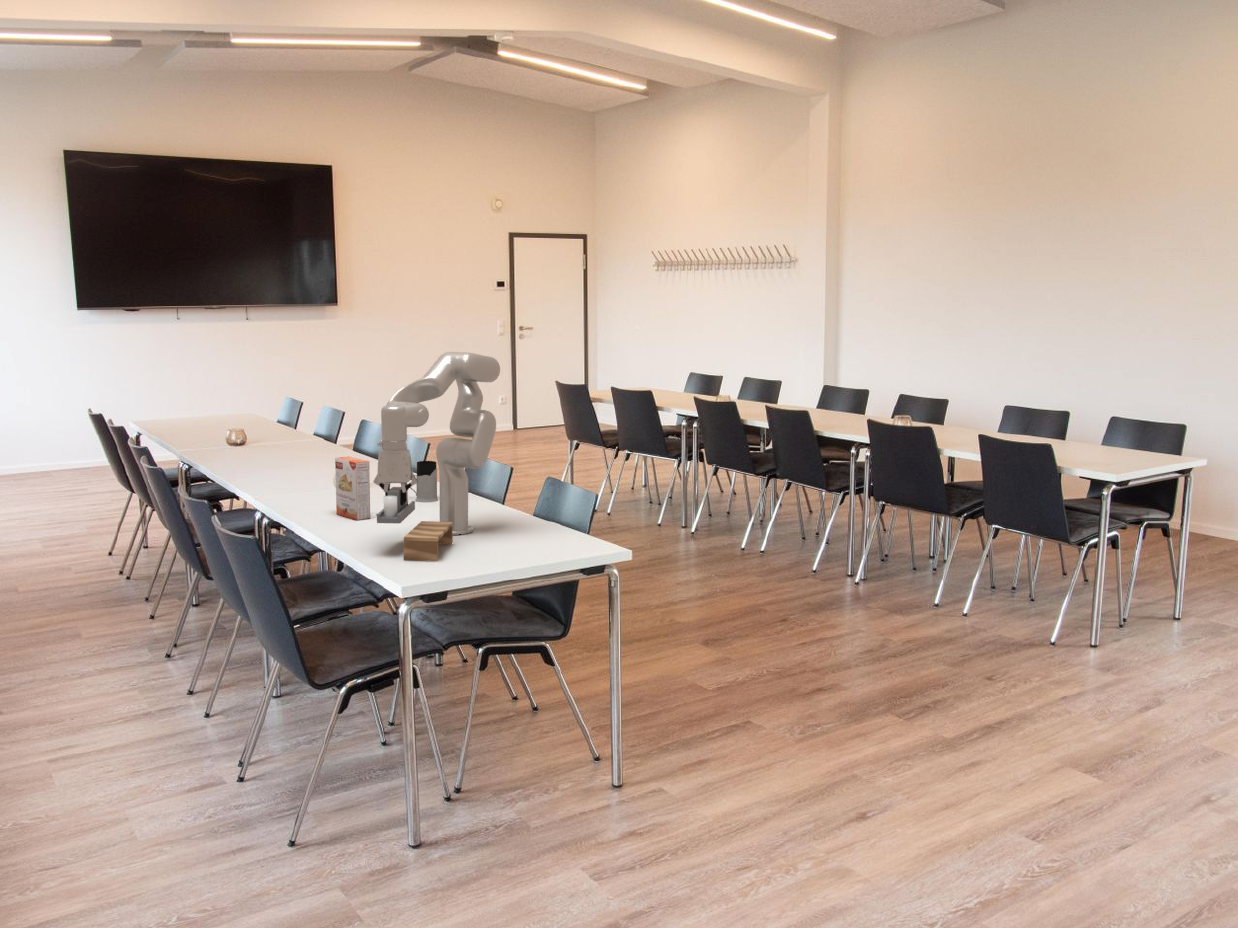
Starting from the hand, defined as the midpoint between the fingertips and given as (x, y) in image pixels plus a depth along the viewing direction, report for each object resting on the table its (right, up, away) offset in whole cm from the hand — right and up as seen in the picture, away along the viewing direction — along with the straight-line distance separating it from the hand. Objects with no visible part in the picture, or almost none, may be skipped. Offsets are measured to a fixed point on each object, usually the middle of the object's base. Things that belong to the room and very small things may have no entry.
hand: (396, 503), depth 328 cm
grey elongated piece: (0, -4, +1) cm, 4 cm away
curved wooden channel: (+10, -15, -1) cm, 18 cm away
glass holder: (-9, -2, +85) cm, 85 cm away
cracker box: (-26, -7, +50) cm, 57 cm away
